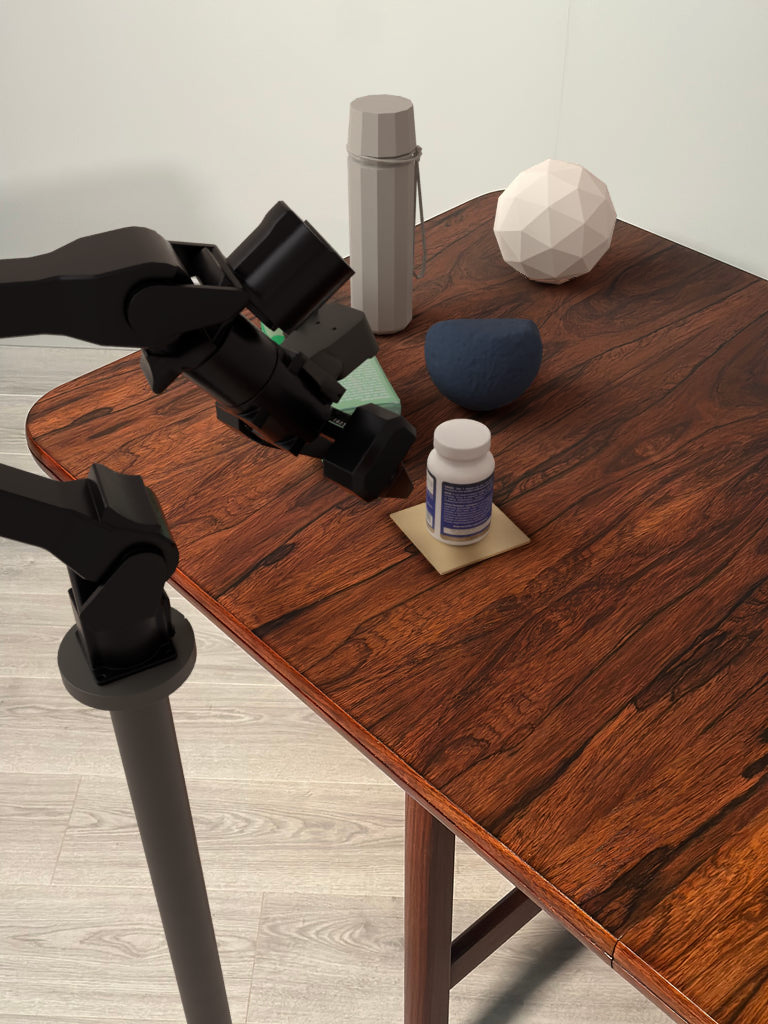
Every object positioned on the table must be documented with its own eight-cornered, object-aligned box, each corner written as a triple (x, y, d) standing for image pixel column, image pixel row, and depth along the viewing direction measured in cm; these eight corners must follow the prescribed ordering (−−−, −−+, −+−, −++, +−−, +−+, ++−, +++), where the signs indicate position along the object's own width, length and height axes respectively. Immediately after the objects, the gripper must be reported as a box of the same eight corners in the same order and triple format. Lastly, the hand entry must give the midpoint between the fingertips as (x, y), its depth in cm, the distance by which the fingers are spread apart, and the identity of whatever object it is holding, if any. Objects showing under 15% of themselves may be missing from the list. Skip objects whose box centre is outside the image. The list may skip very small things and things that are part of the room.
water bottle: (366, 344, 118) (362, 119, 103) (340, 314, 124) (333, 97, 108) (438, 328, 121) (446, 107, 106) (410, 300, 127) (413, 86, 111)
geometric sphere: (516, 317, 134) (449, 223, 128) (579, 243, 139) (517, 149, 133) (594, 302, 122) (524, 198, 116) (659, 221, 127) (595, 118, 121)
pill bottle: (503, 524, 92) (511, 429, 86) (465, 557, 88) (471, 461, 82) (450, 499, 95) (454, 406, 89) (412, 530, 91) (413, 436, 85)
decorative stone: (556, 422, 105) (566, 334, 99) (444, 441, 103) (447, 351, 97) (512, 365, 114) (519, 281, 108) (409, 381, 112) (410, 296, 106)
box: (327, 479, 98) (325, 411, 93) (296, 406, 108) (292, 341, 103) (402, 466, 99) (403, 399, 95) (364, 395, 110) (363, 332, 105)
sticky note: (441, 575, 87) (441, 572, 87) (389, 516, 93) (389, 514, 93) (530, 542, 90) (530, 540, 90) (475, 488, 97) (475, 485, 97)
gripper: (395, 303, 66) (509, 423, 77) (237, 253, 79) (355, 362, 90) (298, 448, 65) (428, 549, 77) (155, 374, 78) (284, 469, 89)
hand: (372, 473), depth 83 cm, fingers open, 9 cm apart
